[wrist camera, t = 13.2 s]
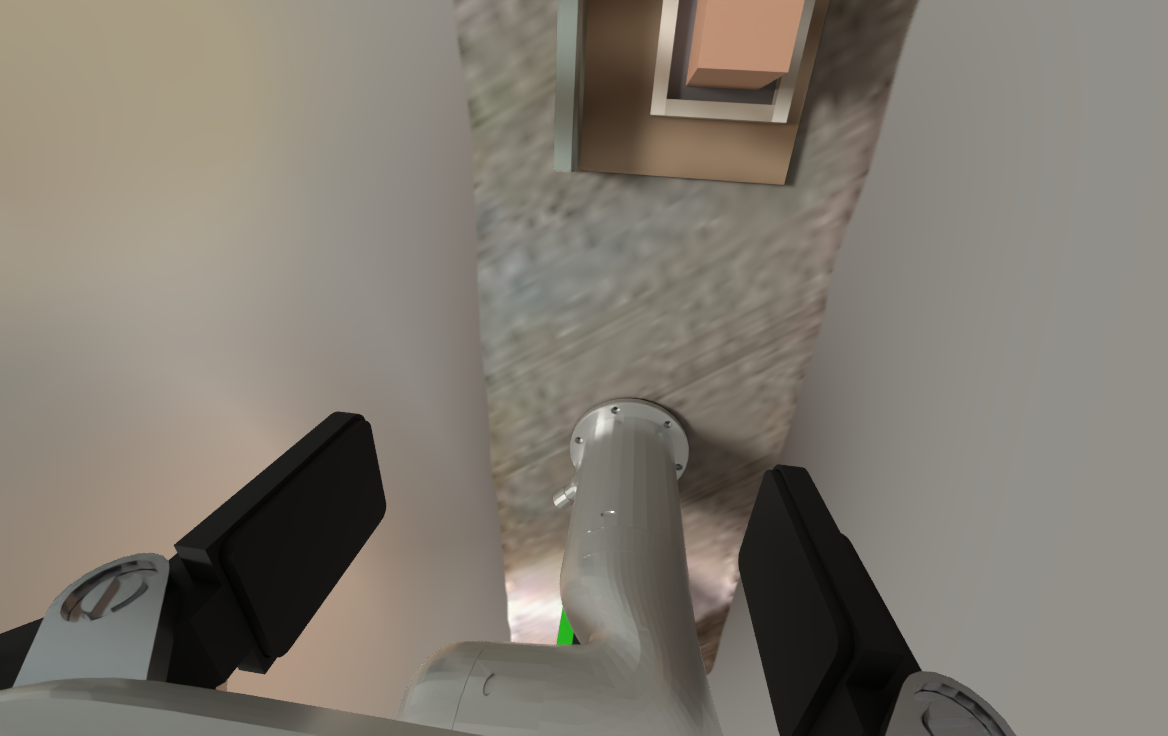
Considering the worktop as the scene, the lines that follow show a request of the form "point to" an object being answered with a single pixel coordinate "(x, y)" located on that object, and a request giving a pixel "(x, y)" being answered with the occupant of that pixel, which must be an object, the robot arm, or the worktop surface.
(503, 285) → the worktop surface
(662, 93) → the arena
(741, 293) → the worktop surface
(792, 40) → the block
